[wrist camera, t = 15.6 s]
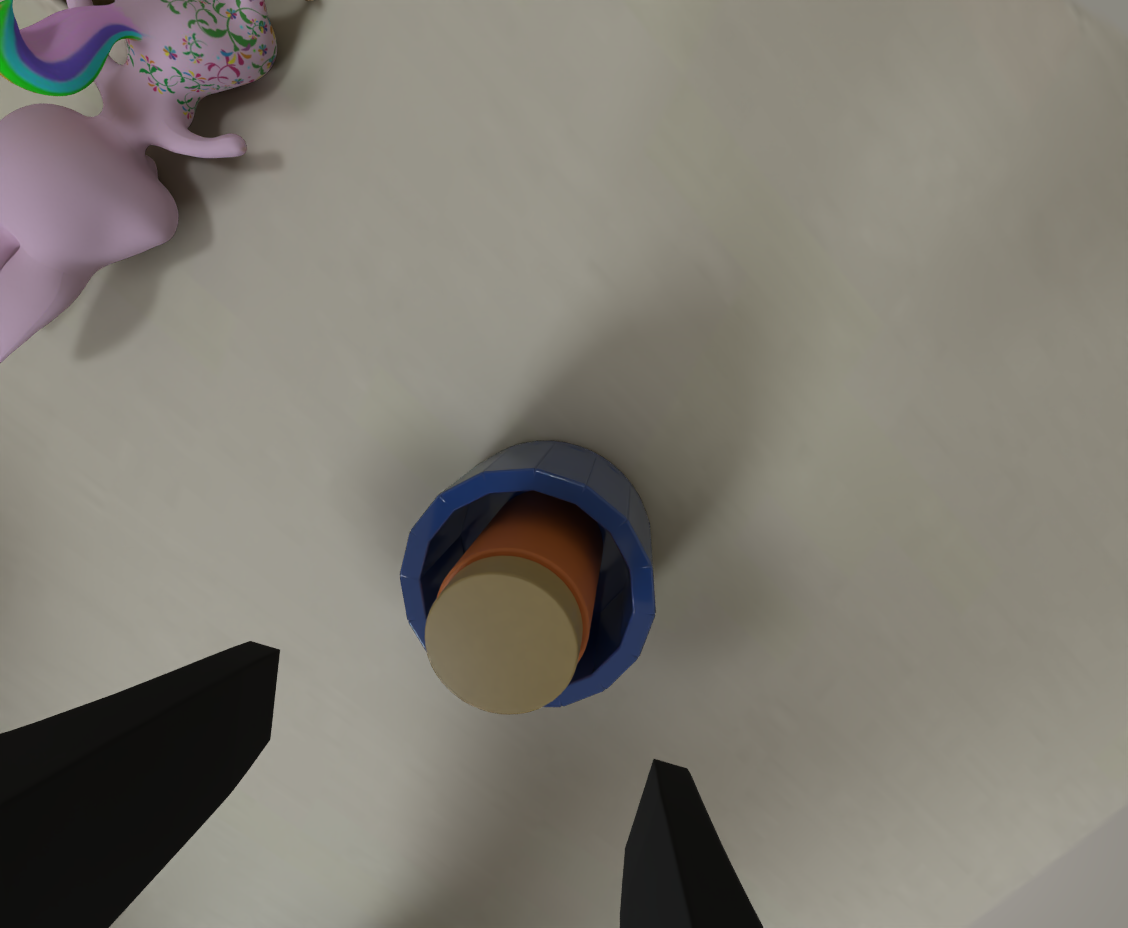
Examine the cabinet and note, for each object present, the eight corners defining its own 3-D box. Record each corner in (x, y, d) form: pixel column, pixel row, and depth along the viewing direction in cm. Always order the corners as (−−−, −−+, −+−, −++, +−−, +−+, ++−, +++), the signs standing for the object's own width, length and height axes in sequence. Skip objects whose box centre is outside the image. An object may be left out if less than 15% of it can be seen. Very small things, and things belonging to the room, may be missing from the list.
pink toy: (227, -74, 17) (-52, 290, 18) (38, -336, 11) (-355, 233, 12) (378, 70, 17) (93, 417, 19) (274, -107, 11) (-133, 421, 13)
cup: (686, 585, 18) (699, 655, 14) (511, 658, 20) (479, 740, 16) (591, 403, 17) (577, 422, 13) (416, 495, 19) (355, 537, 15)
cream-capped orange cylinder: (623, 570, 18) (615, 687, 12) (524, 613, 19) (470, 743, 13) (569, 469, 17) (532, 537, 11) (469, 518, 18) (386, 606, 12)
